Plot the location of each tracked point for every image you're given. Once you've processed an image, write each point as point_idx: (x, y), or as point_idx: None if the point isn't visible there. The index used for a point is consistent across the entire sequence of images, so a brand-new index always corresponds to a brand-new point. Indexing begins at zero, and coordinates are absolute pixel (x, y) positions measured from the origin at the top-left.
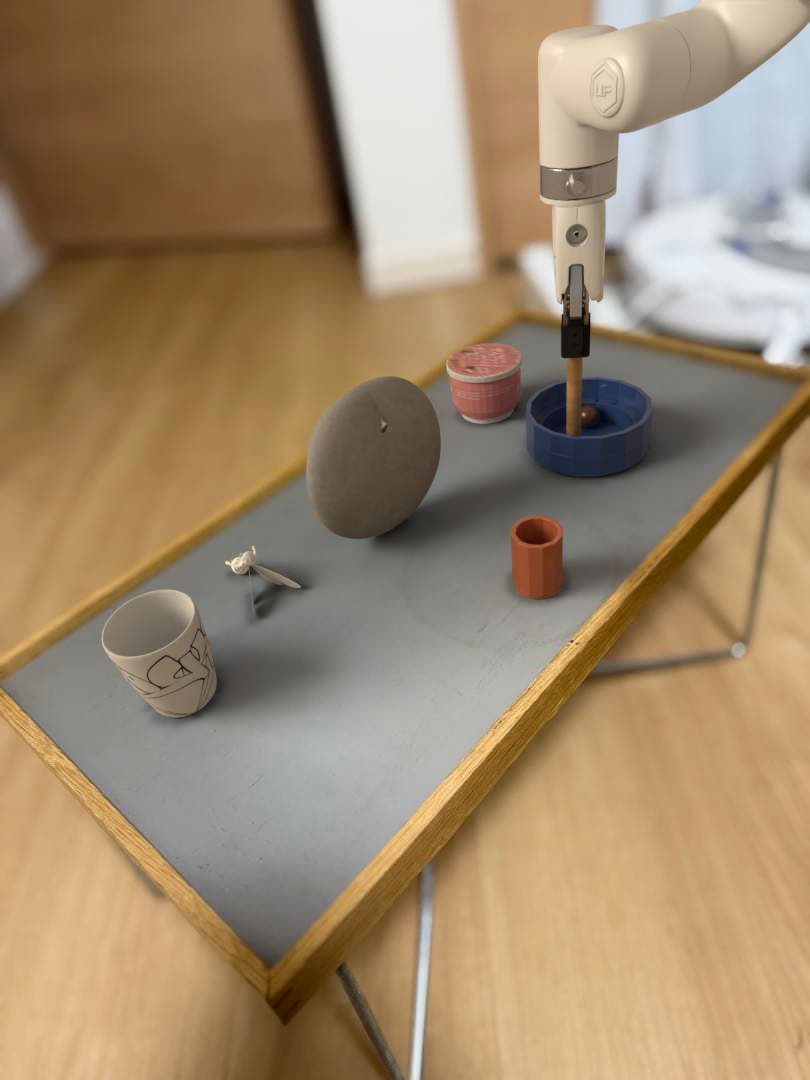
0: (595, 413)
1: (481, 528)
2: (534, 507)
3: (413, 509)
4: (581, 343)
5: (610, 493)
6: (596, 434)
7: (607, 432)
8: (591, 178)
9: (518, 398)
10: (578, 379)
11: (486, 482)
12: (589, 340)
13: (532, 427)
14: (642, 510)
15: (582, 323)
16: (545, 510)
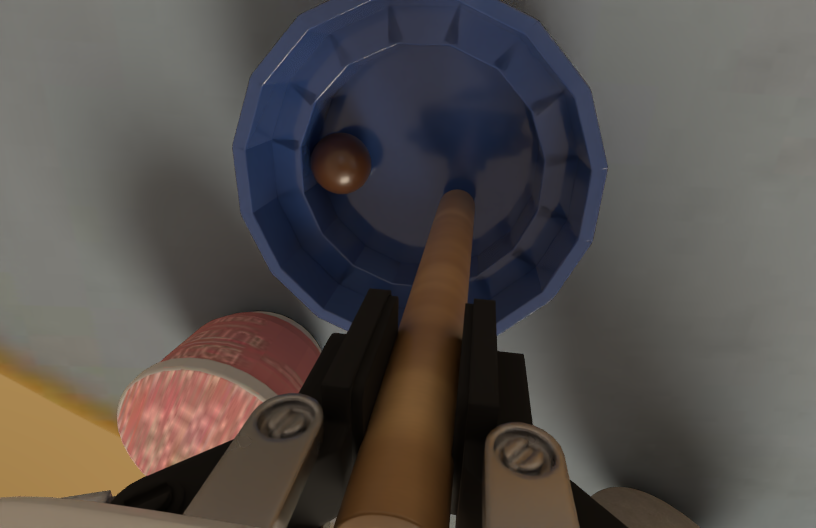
0: (351, 150)
1: (704, 382)
2: (656, 287)
3: (668, 505)
4: (523, 381)
5: (640, 119)
6: (387, 139)
7: (378, 110)
8: None
9: (267, 321)
10: (464, 278)
11: (544, 369)
12: (495, 343)
13: None
14: (736, 41)
15: (575, 488)
16: (673, 266)
